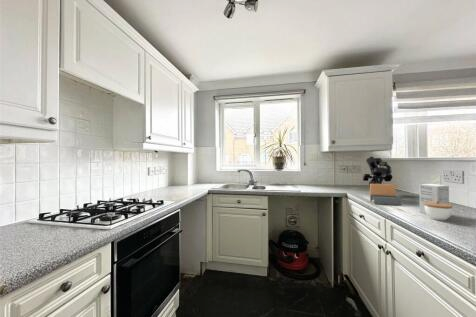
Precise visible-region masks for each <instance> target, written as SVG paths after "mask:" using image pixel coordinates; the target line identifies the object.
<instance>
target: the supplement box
mask: <svg viewBox="0 0 476 317" xmlns="http://www.w3.org/2000/svg"><path fill="white" fill-rule="evenodd" d="M418 186H419V187H418V188H419V190H418V191H419V195H418V196H419V213H421V214H424V215H425V214H426V212H425V209H424V202H436V201H439V203H444V204H449V205H450V185H447V184H437V183H422V184H419V185H418ZM426 215H427V214H426Z"/></svg>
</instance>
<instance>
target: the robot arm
mask: <svg viewBox="0 0 476 317" xmlns="http://www.w3.org/2000/svg"><path fill="white" fill-rule="evenodd" d="M365 161H366V164H367V165H368V168H369V169H370V173H363V175H362V181H364V182H368V181H369V179H371V180H370V181H369V182H368V184H369V185H368V186H369V188H370V184H383V183H382V182H384V181H385V182H392V179H393V174H392V172H393V170H392V167H391V166H390V165H389V163H388V162H387V161H386V160H385V161H384V160H382V158H380V157H374V156H369V157H368V158H367V159H366V160H365Z"/></svg>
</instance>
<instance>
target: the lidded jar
mask: <svg viewBox="0 0 476 317" xmlns="http://www.w3.org/2000/svg"><path fill="white" fill-rule="evenodd" d="M424 209H425V212H426V215H427V216H428V217H429V218H430V219H432V220H436V221H447V220H448V219H449V218H450V217H451V216H452V212H453V205H451V204H450V203H449V204H444V203H439V201H436V202H424Z"/></svg>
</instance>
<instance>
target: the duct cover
mask: <svg viewBox="0 0 476 317" xmlns="http://www.w3.org/2000/svg"><path fill="white" fill-rule="evenodd" d="M370 195H388V196H396V195H397V185H396V184H390V183H382V184H370V187H369V196H370ZM396 197H397V196H396Z"/></svg>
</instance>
